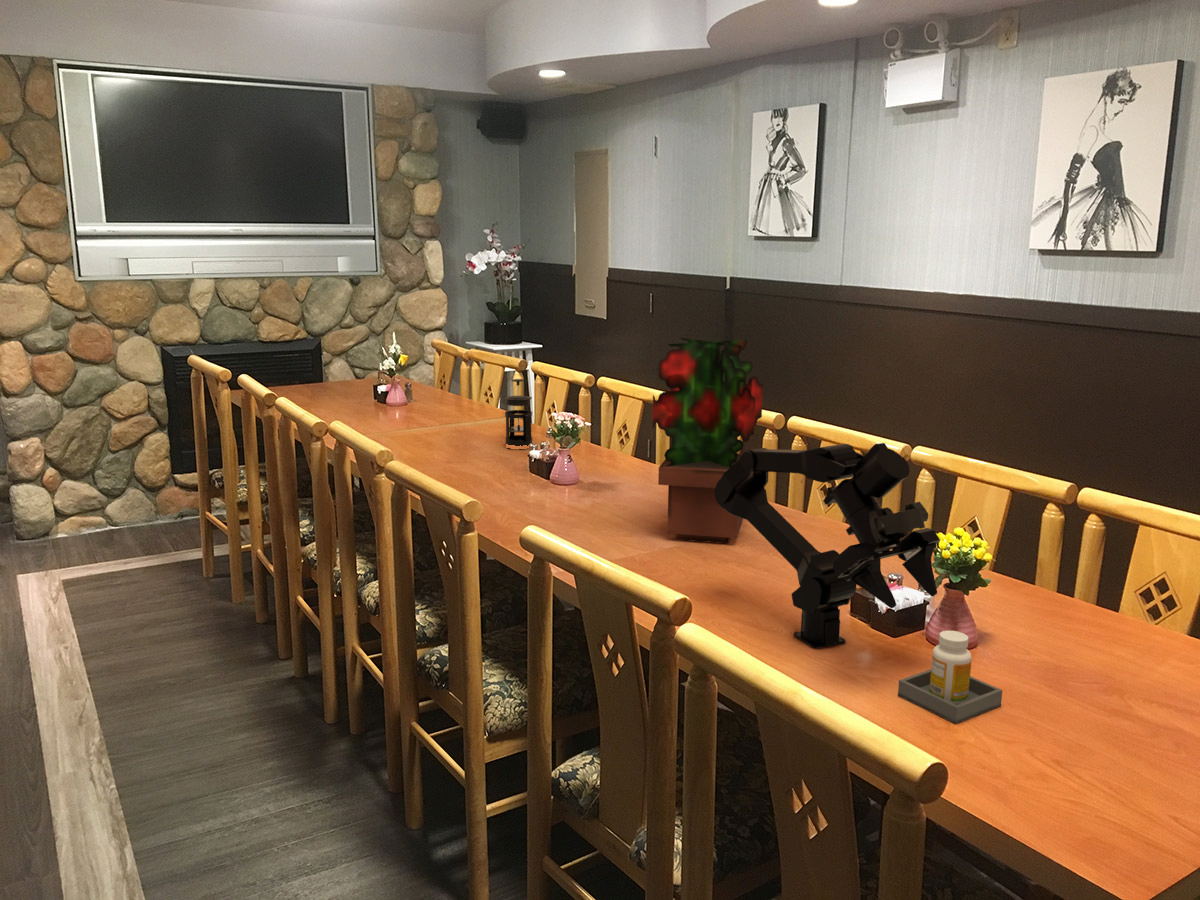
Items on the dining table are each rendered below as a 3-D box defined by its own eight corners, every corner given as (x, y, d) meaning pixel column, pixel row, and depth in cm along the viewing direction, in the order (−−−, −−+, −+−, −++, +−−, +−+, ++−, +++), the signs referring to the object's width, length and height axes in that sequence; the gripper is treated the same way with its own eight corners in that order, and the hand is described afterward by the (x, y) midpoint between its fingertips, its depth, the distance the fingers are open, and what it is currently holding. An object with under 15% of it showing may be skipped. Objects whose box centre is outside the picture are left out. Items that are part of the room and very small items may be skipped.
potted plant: (650, 544, 212) (653, 345, 203) (667, 518, 233) (670, 336, 224) (749, 552, 207) (757, 347, 198) (757, 524, 228) (764, 338, 219)
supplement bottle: (968, 693, 140) (975, 632, 138) (966, 708, 135) (972, 645, 133) (930, 686, 142) (936, 625, 140) (926, 701, 138) (932, 639, 136)
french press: (498, 446, 318) (497, 378, 314) (522, 443, 324) (521, 376, 319) (517, 452, 309) (515, 382, 304) (541, 448, 315) (540, 380, 310)
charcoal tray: (897, 695, 140) (899, 680, 140) (942, 679, 146) (943, 664, 145) (955, 724, 132) (957, 707, 131) (1000, 706, 137) (1002, 690, 137)
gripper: (851, 494, 138) (906, 588, 131) (935, 478, 148) (990, 565, 141) (810, 532, 146) (859, 622, 140) (891, 514, 156) (941, 598, 149)
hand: (914, 600), depth 142 cm, fingers open, 9 cm apart
